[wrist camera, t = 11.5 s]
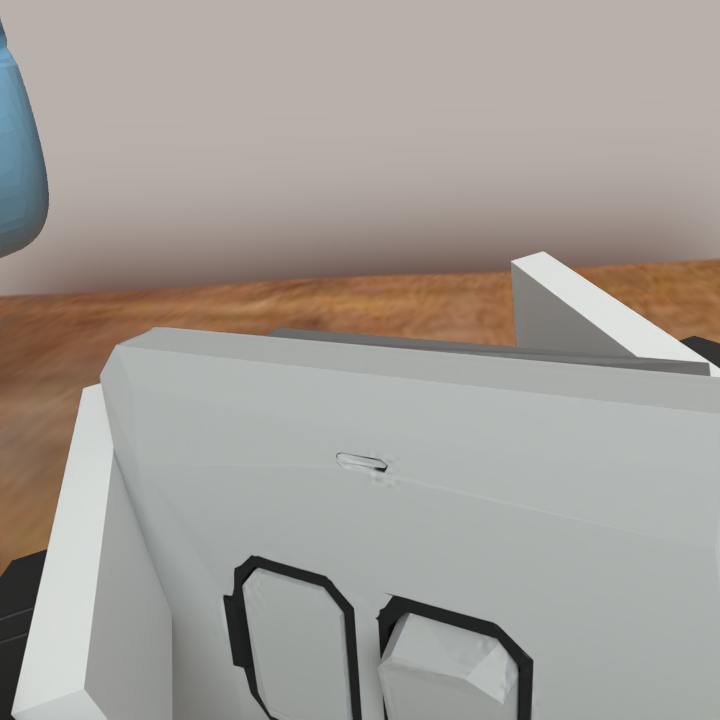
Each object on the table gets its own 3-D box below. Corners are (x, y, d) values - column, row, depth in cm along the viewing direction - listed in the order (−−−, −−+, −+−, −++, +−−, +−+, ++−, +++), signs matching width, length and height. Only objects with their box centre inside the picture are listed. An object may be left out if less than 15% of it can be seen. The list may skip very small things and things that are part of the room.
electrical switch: (181, 793, 12) (-12, 401, 8) (310, 596, 16) (226, 262, 12) (717, 1081, 8) (900, 585, 4) (717, 722, 12) (808, 279, 8)
